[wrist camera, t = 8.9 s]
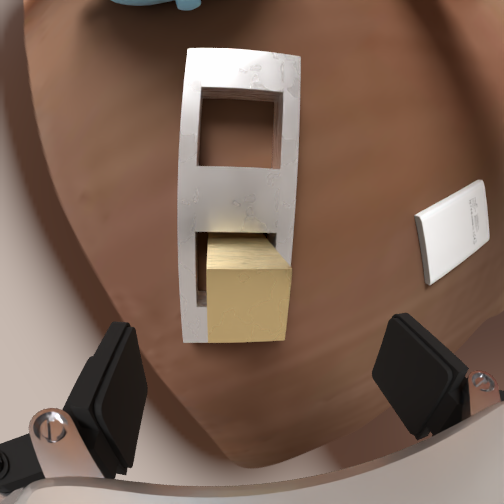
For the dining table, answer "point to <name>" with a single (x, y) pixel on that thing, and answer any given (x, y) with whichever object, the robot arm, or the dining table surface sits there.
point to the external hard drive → (452, 230)
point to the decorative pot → (183, 2)
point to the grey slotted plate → (234, 178)
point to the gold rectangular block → (246, 288)
